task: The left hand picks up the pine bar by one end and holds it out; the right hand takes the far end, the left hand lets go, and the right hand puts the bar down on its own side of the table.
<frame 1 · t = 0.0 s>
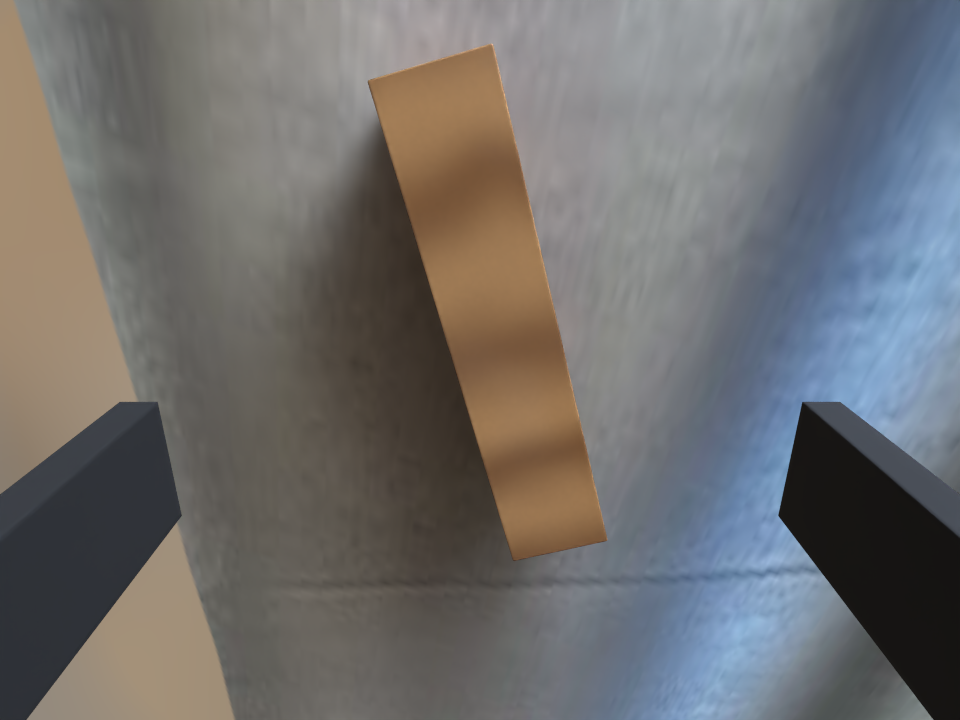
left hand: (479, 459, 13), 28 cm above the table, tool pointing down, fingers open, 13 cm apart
bar: (499, 295, 40), on the table
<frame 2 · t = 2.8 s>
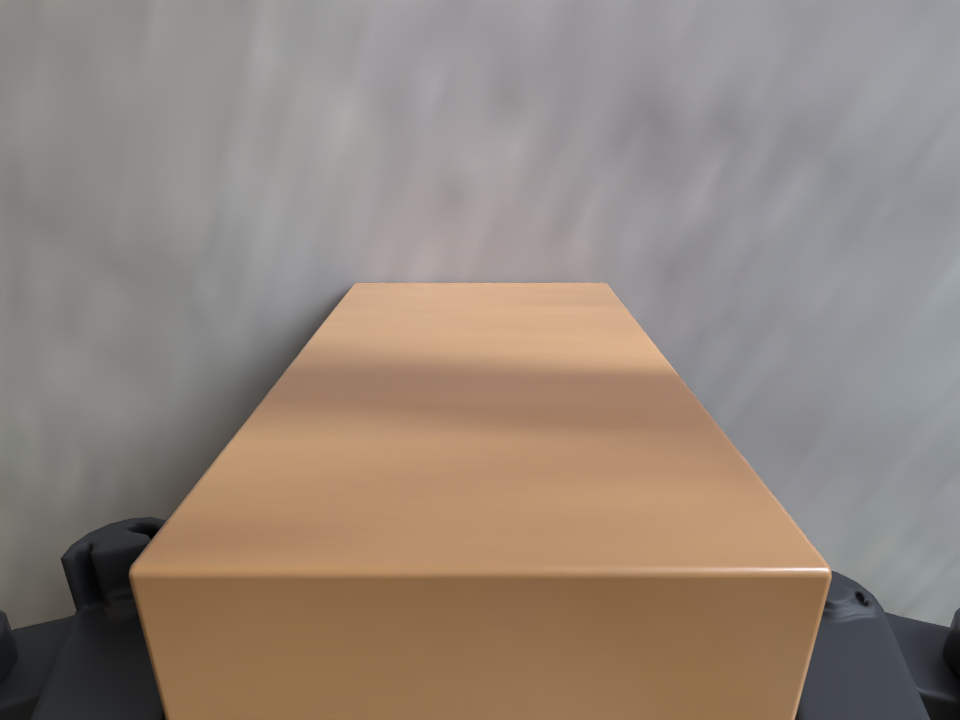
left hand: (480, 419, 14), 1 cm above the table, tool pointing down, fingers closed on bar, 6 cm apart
bar: (480, 713, 19), on the table, touching left hand
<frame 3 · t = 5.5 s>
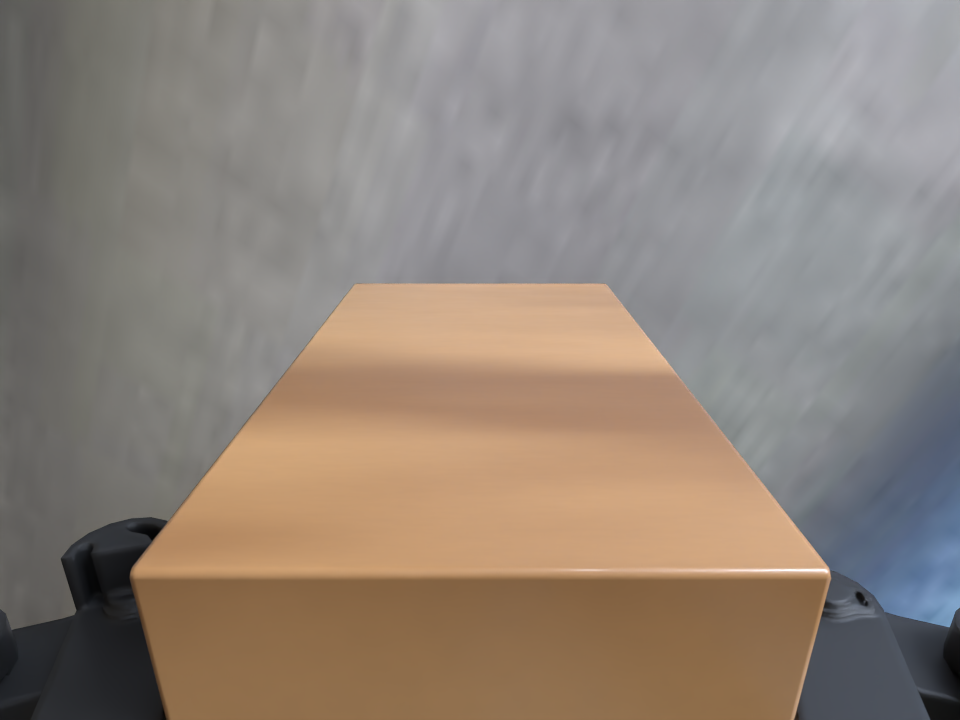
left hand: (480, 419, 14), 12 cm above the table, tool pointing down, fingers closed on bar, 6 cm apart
bar: (480, 714, 19), point 11 cm above the table, touching left hand
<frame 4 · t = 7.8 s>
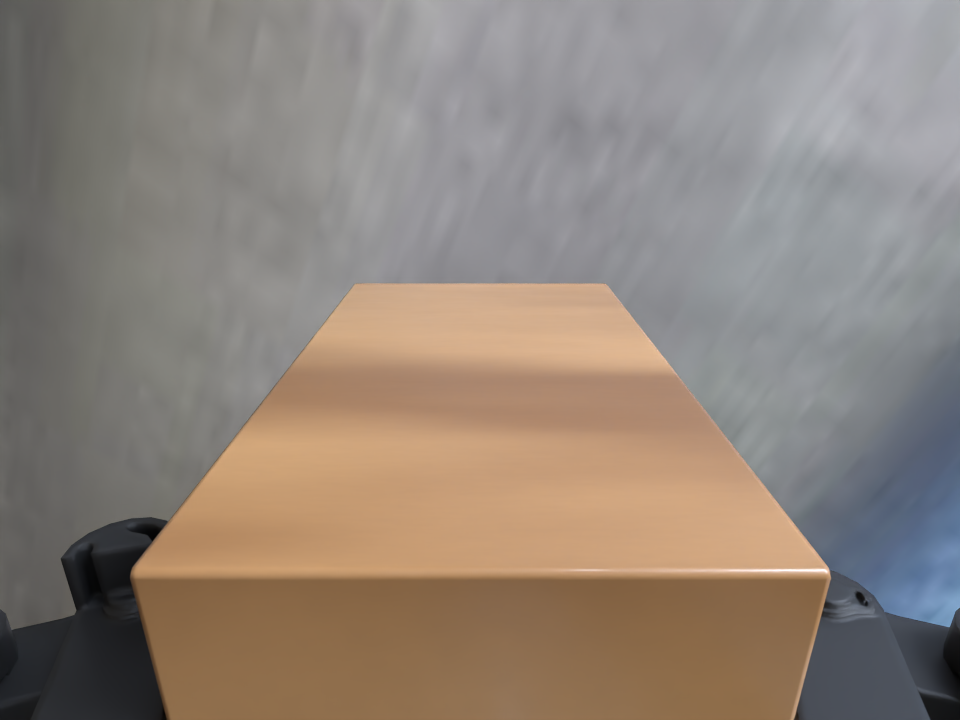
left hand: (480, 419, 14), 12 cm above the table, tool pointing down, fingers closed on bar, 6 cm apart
bar: (480, 713, 19), point 11 cm above the table, touching left hand, right hand
when the left hand's fingers open (12 cm above the table, at t = 8.5 s): bar stays where it is, held by the right hand.
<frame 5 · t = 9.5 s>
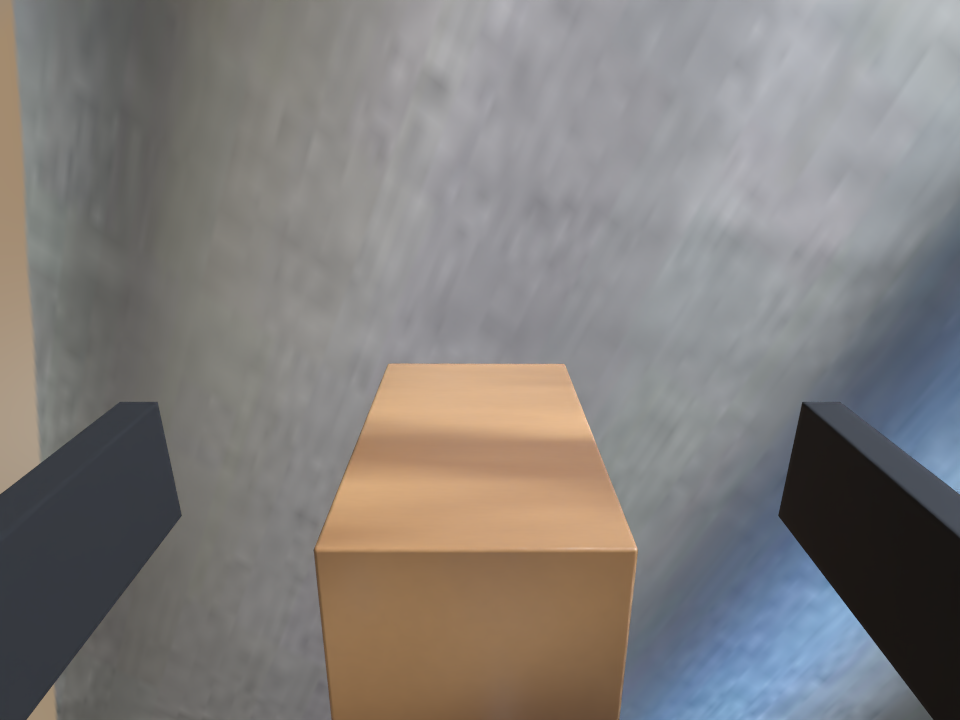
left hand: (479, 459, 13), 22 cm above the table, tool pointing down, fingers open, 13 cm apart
bar: (475, 682, 24), point 14 cm above the table, touching right hand
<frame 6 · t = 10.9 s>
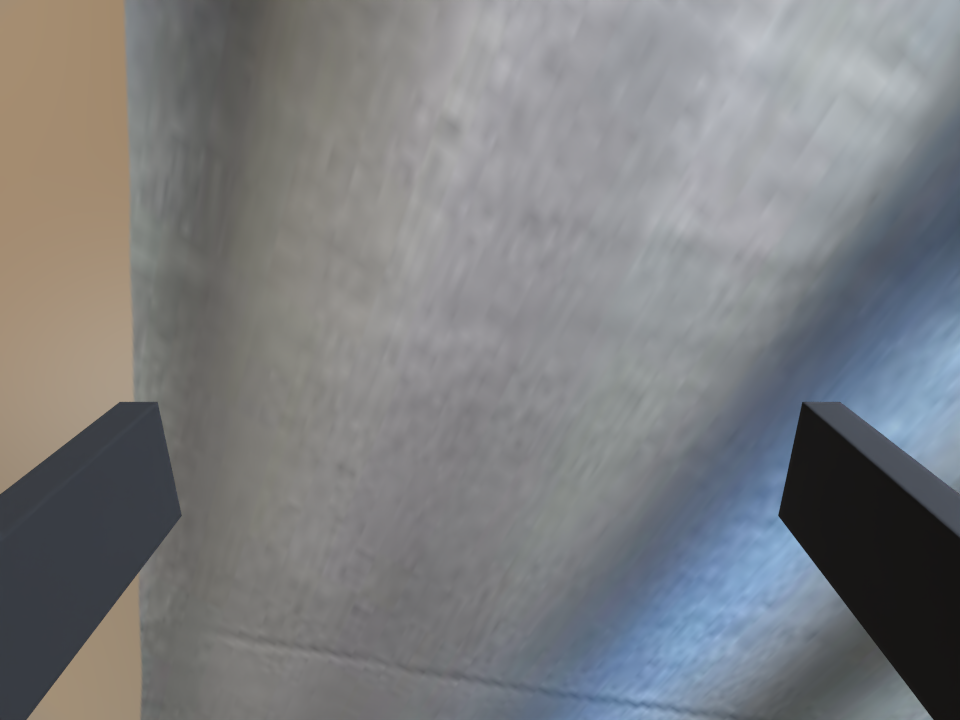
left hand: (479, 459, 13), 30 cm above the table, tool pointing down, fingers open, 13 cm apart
when the right hand's fingers open (2 cm above the table, at t = 14.0 s): bar drops 2 cm, on the table.
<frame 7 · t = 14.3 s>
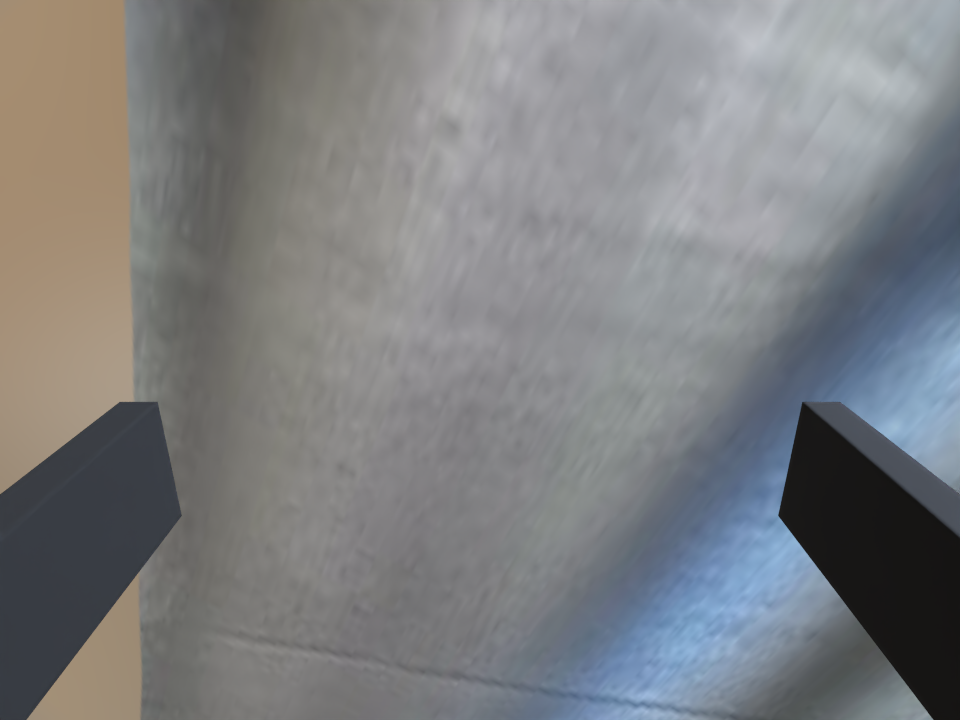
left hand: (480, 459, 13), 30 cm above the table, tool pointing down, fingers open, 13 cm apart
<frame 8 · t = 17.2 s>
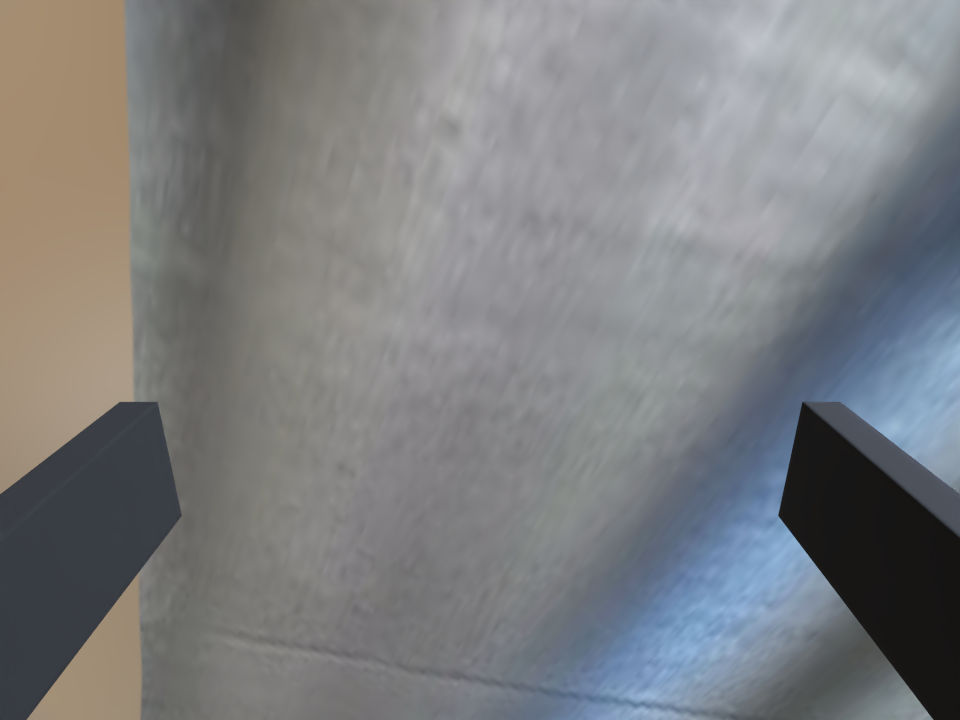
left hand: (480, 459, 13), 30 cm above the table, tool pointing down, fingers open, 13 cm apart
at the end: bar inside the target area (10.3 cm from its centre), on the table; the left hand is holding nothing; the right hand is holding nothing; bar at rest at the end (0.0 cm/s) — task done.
